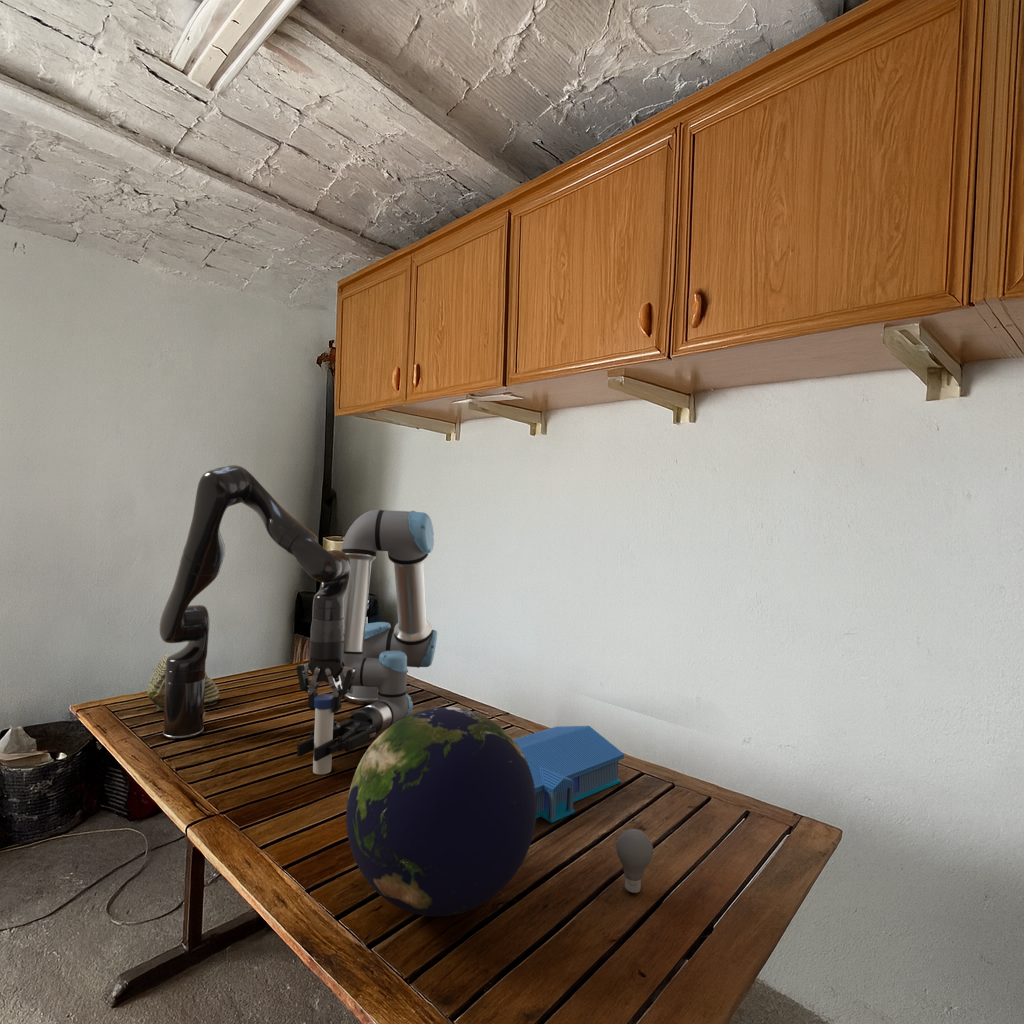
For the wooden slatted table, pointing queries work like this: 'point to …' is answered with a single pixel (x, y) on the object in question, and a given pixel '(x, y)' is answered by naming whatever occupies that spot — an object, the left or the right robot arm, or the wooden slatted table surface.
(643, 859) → the light bulb
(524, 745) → the model building
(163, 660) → the fossil
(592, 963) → the wooden slatted table surface
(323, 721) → the white tube
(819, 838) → the wooden slatted table surface
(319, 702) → the lid
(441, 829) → the globe
